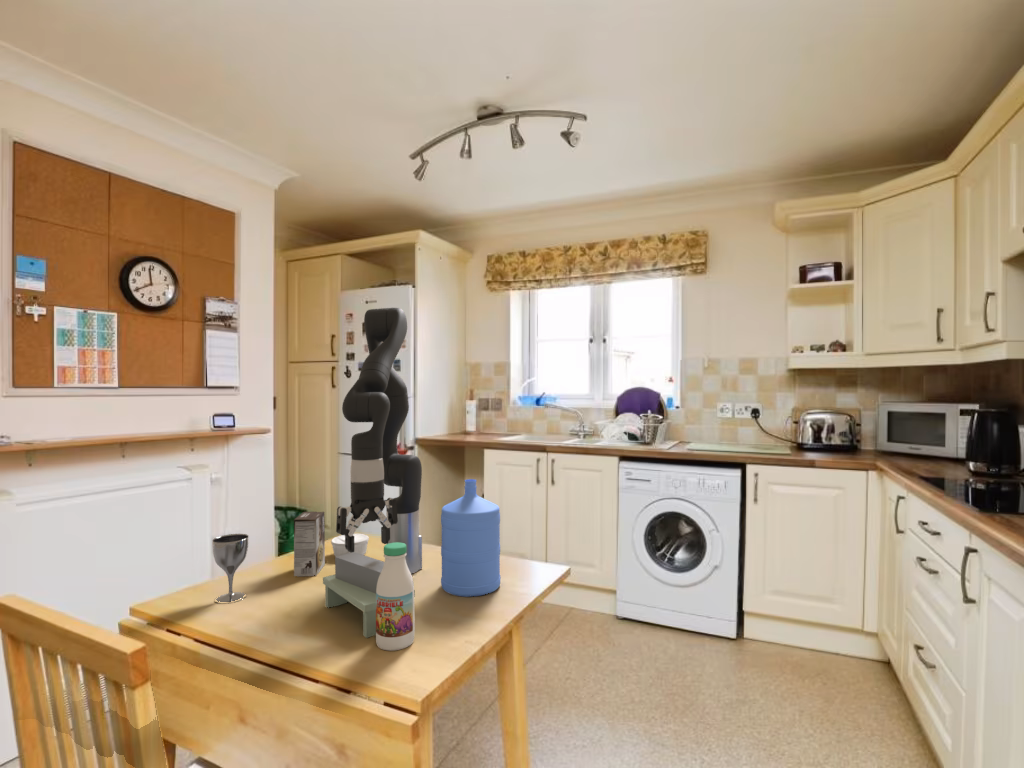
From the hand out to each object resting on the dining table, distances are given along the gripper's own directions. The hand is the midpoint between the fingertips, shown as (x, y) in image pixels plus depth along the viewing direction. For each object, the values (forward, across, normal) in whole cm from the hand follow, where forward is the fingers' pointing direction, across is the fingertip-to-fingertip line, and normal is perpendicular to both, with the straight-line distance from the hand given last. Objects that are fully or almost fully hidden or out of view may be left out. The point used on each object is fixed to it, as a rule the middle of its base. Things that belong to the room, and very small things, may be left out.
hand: (368, 547), depth 119 cm
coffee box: (+16, -1, -38) cm, 41 cm away
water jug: (+16, -28, +3) cm, 32 cm away
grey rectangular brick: (+8, 0, 0) cm, 8 cm away
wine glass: (+15, +21, -32) cm, 41 cm away
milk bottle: (+15, +2, +16) cm, 23 cm away
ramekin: (+16, -16, -44) cm, 49 cm away
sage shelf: (+15, 0, 0) cm, 15 cm away
